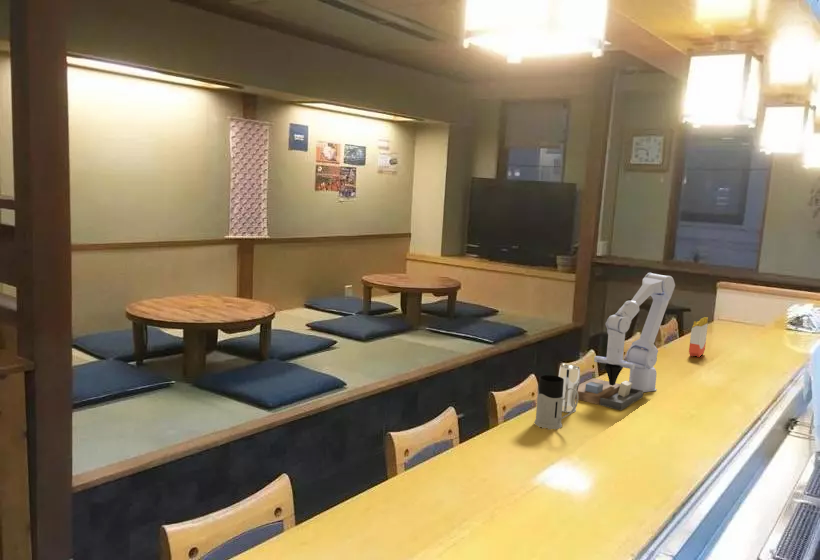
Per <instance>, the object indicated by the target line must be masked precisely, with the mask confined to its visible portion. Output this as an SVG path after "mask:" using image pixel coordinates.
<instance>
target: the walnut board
mask: <svg viewBox="0 0 820 560" xmlns="http://www.w3.org/2000/svg"><path fill="white" fill-rule="evenodd" d="M589 382H595V383H600V384H603V391H602V392H600V393H598V394H596V393H592V392H588V391H585V388H586V384H587V383H589ZM620 385H621V383H617V382H616V383H615V385H609V380H605V379H604V380H603V379H599V378H595V377H593V378H590V379H587V380H586V381H583V382H582V383H579V387H578V391H577V392H578V396H579V399H578V401H581V402H582V401H583V402H587V403H590V404H595V405H599V406H601V405H600V398H605V399H607V398H609V397H611V396H612V395H614V394H616V393H618V391H619V388H620ZM576 400H577V395H576Z"/></svg>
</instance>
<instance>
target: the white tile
mask: <svg viewBox="0 0 820 560" xmlns="http://www.w3.org/2000/svg"><path fill="white" fill-rule="evenodd" d="M620 384H621V385H620V388H619V391H618V395H621V396H623V397H625V396H627V395H629V392H630V389H631V386H632V383H631V382H629V380H624V381H622V382H620Z"/></svg>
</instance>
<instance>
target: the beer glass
mask: <svg viewBox="0 0 820 560" xmlns="http://www.w3.org/2000/svg"><path fill="white" fill-rule="evenodd" d="M558 377H561V378H563V379H564V385H563V398H565V392H566V390H567V389H569V388H573V389H575V390H576V391H578V387H579V384H580V381H581V367H580V366H579V365H577V364H572V363H569V364H568V363H563V364H562V363H561V364H560V366H559V371H558ZM576 400H577V399H576V392H575V391H574V390H572V389H570V390H569V391H568V392H567V397H566V399H564V400H563V404H562V413H567V414H569V413H570V412H571V411H572V410H573V408H574V407H575V404H576ZM576 411H577V407H576V408H575V410H574V411H573V412H572V413H571V414H573V413H575V412H576Z"/></svg>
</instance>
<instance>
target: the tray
mask: <svg viewBox="0 0 820 560" xmlns="http://www.w3.org/2000/svg"><path fill="white" fill-rule="evenodd" d="M643 395H644V392H643V391H642V390H638V389H633V388H631V389H630V392H629V395H627V396H625V397H623V396H621V395H618V393H616V394H614V395H612V396H611V397H609V398H607V399H605V398H600V405H599V406H601V407H606V408H611V409H615V410H619V411H622V410H624V409H626V408H627V407H629V406H631V405H632V404H634V403H636V402H637V401H639V400H641V399H643Z"/></svg>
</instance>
